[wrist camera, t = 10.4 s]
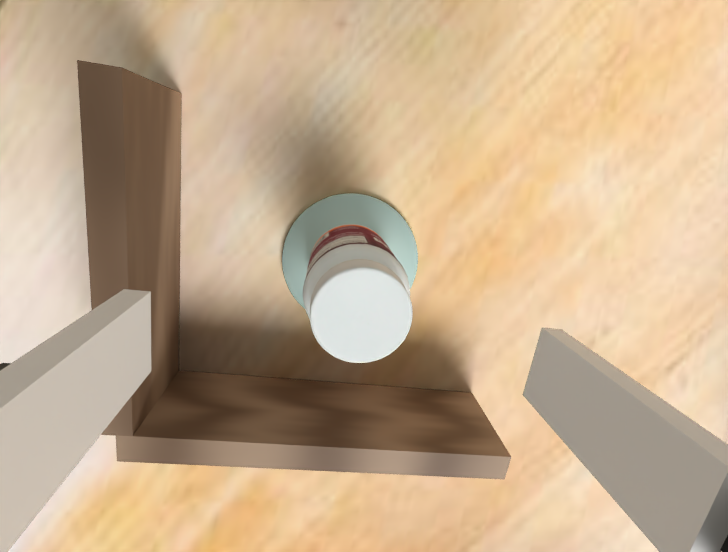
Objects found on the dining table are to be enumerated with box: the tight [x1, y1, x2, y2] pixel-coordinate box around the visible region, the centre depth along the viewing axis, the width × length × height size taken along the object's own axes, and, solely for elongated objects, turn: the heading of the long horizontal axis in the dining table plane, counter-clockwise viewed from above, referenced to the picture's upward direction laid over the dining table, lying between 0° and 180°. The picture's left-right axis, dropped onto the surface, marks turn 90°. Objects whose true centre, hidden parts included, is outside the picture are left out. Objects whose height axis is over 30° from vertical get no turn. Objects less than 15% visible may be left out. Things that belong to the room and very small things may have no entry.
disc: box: [282, 193, 418, 309], centre depth 23 cm, size 8×8×1 cm
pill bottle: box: [303, 224, 412, 363], centre depth 19 cm, size 5×5×8 cm
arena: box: [77, 60, 511, 479], centre depth 20 cm, size 21×18×6 cm
